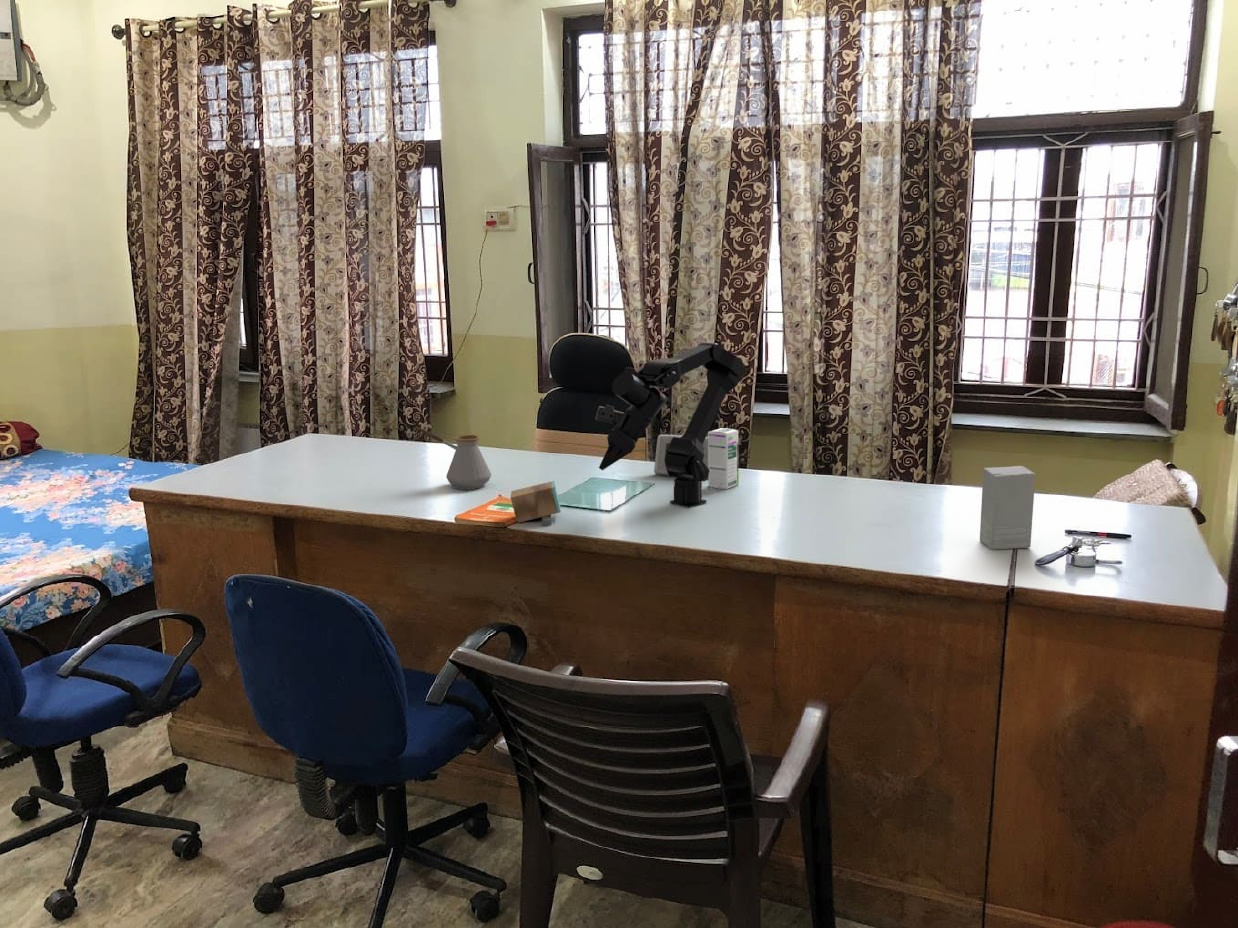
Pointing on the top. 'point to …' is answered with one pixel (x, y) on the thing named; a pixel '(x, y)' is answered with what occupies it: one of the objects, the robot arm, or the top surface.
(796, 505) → the top surface
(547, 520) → the grey thin bar
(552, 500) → the walnut block
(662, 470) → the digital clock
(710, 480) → the syrup box
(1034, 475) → the skincare box
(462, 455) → the coffee pot
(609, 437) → the robot arm
